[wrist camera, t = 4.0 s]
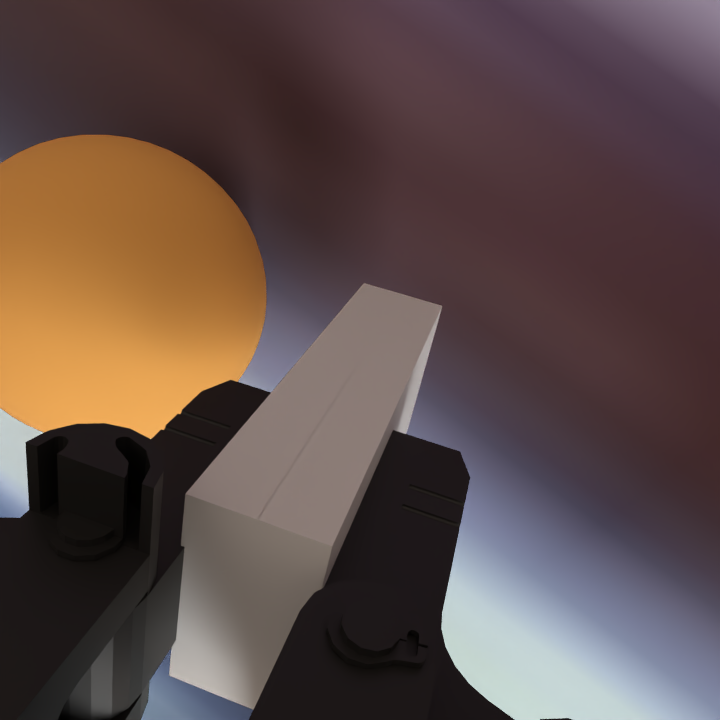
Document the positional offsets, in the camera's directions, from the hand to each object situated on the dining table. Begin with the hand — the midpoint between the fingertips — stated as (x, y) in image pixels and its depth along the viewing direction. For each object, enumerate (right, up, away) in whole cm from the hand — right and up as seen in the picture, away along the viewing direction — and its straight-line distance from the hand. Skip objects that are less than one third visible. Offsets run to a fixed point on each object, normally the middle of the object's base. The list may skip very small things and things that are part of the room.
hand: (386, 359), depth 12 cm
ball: (-5, +1, +1) cm, 6 cm away
